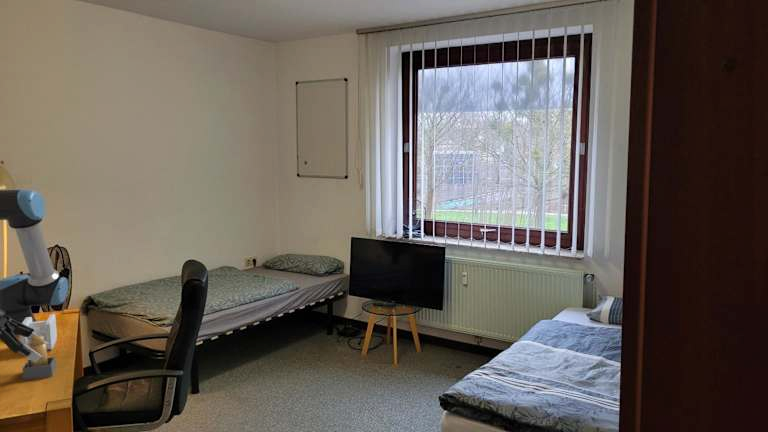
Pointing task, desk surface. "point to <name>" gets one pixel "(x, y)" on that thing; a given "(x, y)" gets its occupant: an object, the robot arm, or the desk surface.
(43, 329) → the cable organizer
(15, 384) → the desk surface
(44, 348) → the beige rounded figurine
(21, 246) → the robot arm
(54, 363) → the grey open square box
